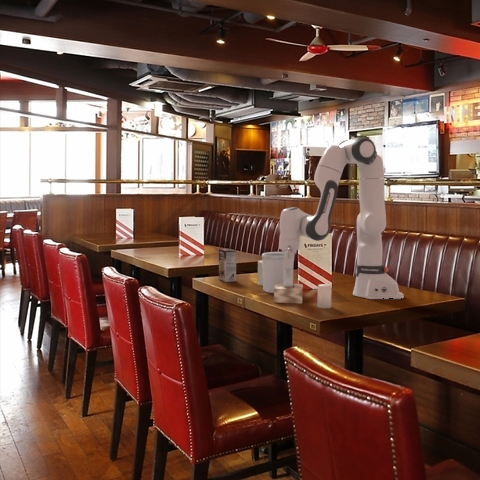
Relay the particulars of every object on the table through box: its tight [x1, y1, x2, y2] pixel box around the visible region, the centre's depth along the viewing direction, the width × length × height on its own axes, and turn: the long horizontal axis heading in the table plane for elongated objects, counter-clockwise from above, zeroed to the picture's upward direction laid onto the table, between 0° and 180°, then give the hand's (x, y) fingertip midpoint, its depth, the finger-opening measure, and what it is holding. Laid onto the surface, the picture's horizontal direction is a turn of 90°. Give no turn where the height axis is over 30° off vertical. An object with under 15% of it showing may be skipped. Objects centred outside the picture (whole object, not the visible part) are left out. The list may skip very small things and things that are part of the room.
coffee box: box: [218, 248, 237, 283], centre depth 285 cm, size 9×6×16 cm
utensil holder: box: [261, 251, 284, 294], centre depth 259 cm, size 15×15×18 cm
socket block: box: [273, 283, 304, 304], centre depth 239 cm, size 12×12×6 cm
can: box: [256, 259, 263, 287], centre depth 275 cm, size 9×9×12 cm
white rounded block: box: [316, 283, 332, 309], centre depth 226 cm, size 6×6×9 cm
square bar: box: [283, 267, 294, 288], centre depth 238 cm, size 4×4×12 cm
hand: (288, 276), depth 238 cm, fingers closed on square bar, 4 cm apart
